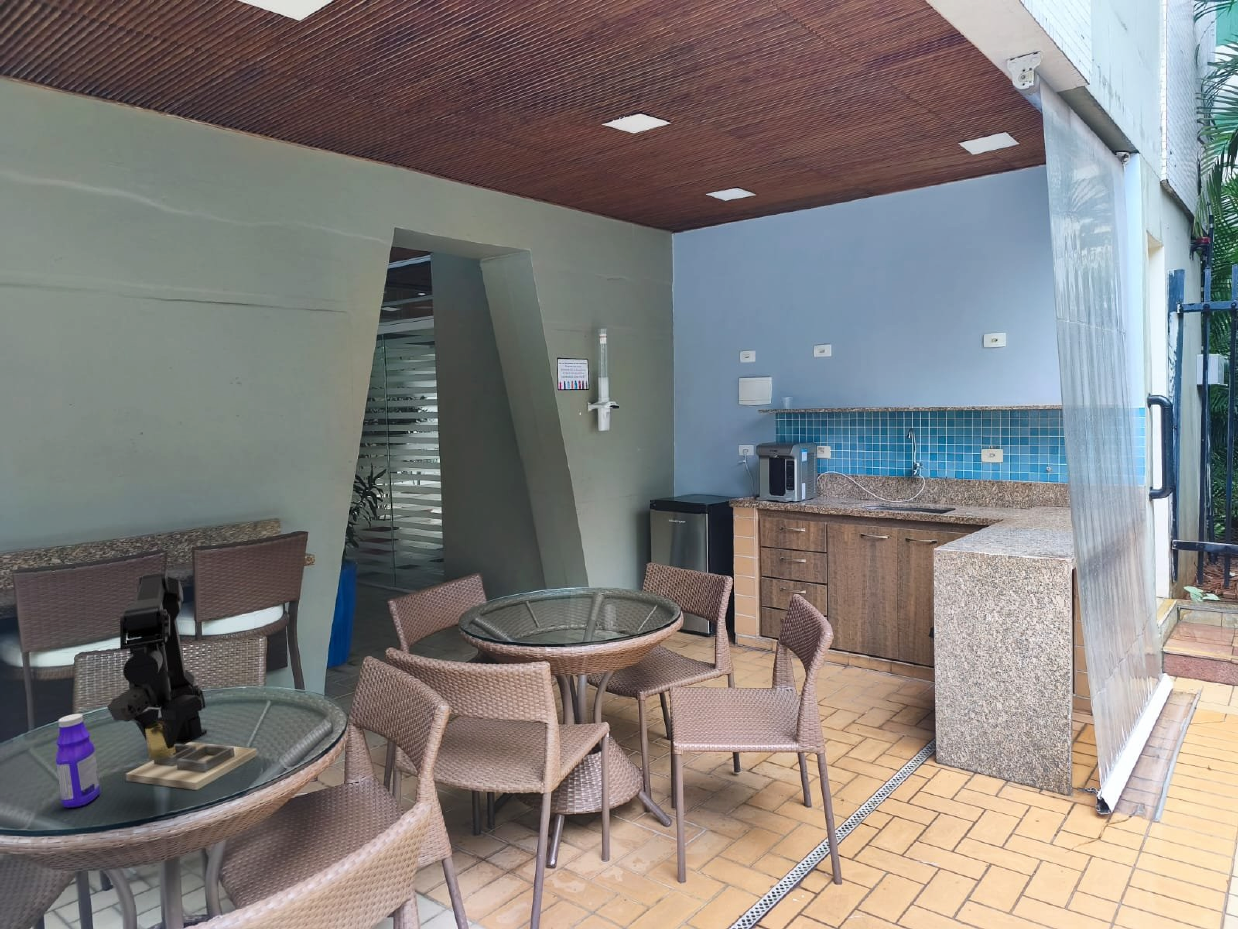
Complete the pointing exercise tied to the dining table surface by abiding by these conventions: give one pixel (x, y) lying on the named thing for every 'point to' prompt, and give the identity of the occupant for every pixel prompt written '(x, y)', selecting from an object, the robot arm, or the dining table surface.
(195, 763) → the board
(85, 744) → the bottle
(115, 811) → the dining table surface
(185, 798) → the dining table surface
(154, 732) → the cylinder
